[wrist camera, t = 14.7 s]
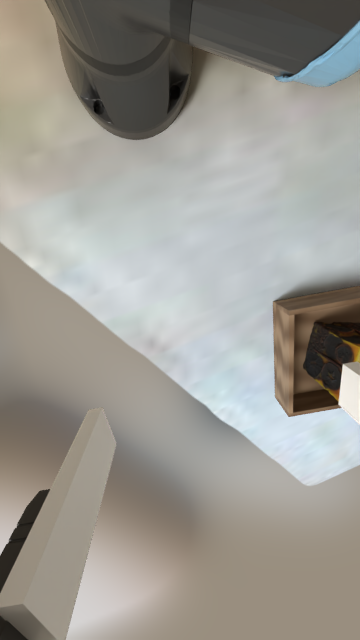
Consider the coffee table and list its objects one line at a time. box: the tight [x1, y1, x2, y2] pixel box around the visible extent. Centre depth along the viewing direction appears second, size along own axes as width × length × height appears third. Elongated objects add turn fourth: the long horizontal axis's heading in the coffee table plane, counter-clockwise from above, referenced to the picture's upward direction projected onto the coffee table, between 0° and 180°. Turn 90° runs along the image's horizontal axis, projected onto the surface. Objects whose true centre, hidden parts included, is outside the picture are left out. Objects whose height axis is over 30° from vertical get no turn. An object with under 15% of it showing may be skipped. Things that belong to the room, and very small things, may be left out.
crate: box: [273, 286, 360, 417], centre depth 39 cm, size 22×22×6 cm
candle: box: [303, 322, 360, 402], centre depth 36 cm, size 10×10×10 cm
